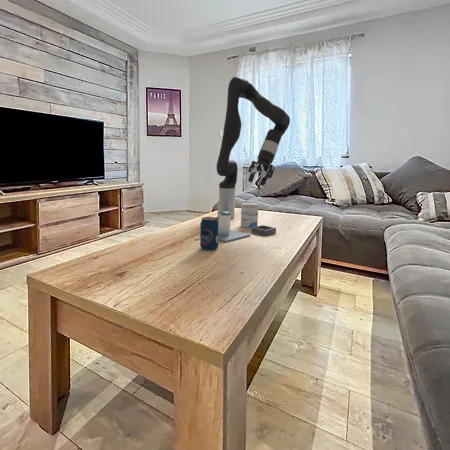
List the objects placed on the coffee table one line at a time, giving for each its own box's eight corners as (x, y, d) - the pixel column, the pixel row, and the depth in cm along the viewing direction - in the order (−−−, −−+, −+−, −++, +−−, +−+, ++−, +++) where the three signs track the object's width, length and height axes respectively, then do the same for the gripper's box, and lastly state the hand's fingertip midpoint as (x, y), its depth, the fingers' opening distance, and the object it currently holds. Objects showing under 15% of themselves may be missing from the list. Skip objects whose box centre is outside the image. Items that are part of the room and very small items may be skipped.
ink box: (257, 225, 164) (258, 203, 162) (257, 227, 159) (258, 204, 157) (241, 224, 165) (241, 202, 162) (240, 226, 160) (241, 204, 158)
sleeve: (251, 232, 148) (251, 227, 148) (262, 229, 154) (262, 225, 154) (265, 235, 143) (265, 230, 142) (275, 233, 149) (276, 227, 148)
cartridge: (215, 233, 140) (217, 211, 138) (223, 232, 144) (224, 210, 142) (224, 236, 137) (225, 213, 135) (231, 234, 141) (233, 212, 139)
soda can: (197, 249, 119) (197, 218, 117) (205, 245, 126) (205, 216, 123) (213, 252, 117) (213, 220, 114) (221, 247, 123) (221, 217, 120)
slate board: (199, 235, 141) (199, 233, 141) (224, 230, 152) (224, 228, 152) (225, 242, 130) (225, 240, 130) (250, 236, 141) (250, 234, 141)
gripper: (253, 147, 153) (241, 178, 154) (273, 150, 142) (260, 184, 144) (262, 152, 158) (251, 183, 159) (283, 156, 147) (271, 189, 149)
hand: (255, 183), depth 151 cm, fingers open, 8 cm apart
